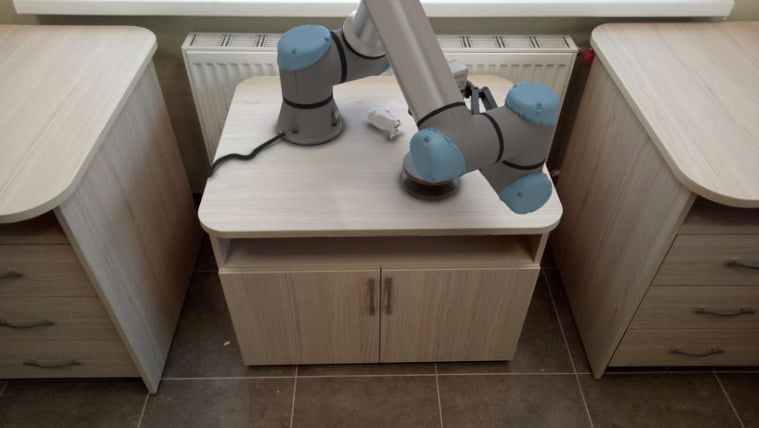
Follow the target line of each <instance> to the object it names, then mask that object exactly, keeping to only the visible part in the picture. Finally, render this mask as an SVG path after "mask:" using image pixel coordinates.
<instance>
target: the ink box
mask: <svg viewBox="0 0 759 428" xmlns="http://www.w3.org/2000/svg"><path fill="white" fill-rule="evenodd" d="M446 61H447V63H448V65H449V67H450V70H451V72H452V74H453V76H454V79H455V81H456V83H457V85H458V88H459V90H460V92H461V94H462V96H463V99H464V100H465V97H464V96H465V90H466V83H467V80H468V76H469V69H470V68H469V67H468V65H466V64H464V63H463V62H462V61H460V60H458V59H457V58H456V57H454V56H453V57H451V56H450V57H449V58H448V57H447V58H446Z"/></svg>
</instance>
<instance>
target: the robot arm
mask: <svg viewBox="0 0 759 428" xmlns="http://www.w3.org/2000/svg"><path fill="white" fill-rule="evenodd" d="M276 53H277V54H276V55H277V56H276V63H277V66H278V73H279V81H280V90H281V97H282V100H281V101H282V102H281V105H280V108H279V114H278V117H277V129H278V133H279V134H277V135H275V136H273V137H272V138H270V139H268V140H266V141H265V142H263V143H261V144H260V145H258V146H257V147H255V148H254V149H253V150H252V151H251V152H250V153H249V154H241V153H234V152H233V153H229V154H225V155H223V156H220V157H218V158H217V159H216V160H214V162H213V163H212V164H211V165H210V167H209V169H208V170H207V172H206V174H205V179H208V178H209V179H210V178H211V176H212V174H213V173H214V171H215V169H216V168H217V167H218V166H219V165H220V164H221V163H222V162H224V161H226V160H229V159H234V158H236V159H240V160H250V159H252V158H254V157H255V156H256V154H257V153H258V152H260V151H261V150H263V149H264V148H266V147H268V146H270V145H272V144H273V143H275V142H277V141H279V140H281V139H282V138H283V139H284V140H286V141H288V142H290V143H292V144H296V145H300V146H315V145H321V144H325V143H327V142H330V141H333V140H334V139H335V138H336V137H338V135H339V134H340V133H341V131H342V129H343V117H342V114H341V111H340V109H339V106H338V105H337V102H336V100H335V98H334V86H338V85H343V84H345V83H349V82H353V81H357V80H361V79H365V78H370V77H377V76H381V75H383V74H384V73H387V72H390V71H392V73H393V75H394V77H395V79H396V82H397V85H398V86H399V89H400V91H401V93H402V95H403V99H404V101H405V102H406V105H407V107H408V108H407V114H408V115H409V116H410V117H412V118H413V121H414V123H415V125H416V128H417V130H418V131H417V132H415V133H414V134H413V135H412V137H411V138H410V142H409V151H410V153H411V155H412V163H413V165H414V168H415V169H416V171H417V173H418V174H419V175H420V176H421V177H422V178H423V179H424V180H425V181H427V182H430V183H437V182H441V181H445V180H448V179H452V178H457V177H458V178H461V177H463V176H464V175H467V174H470V173H472V172H475V171H479V173H480V175H482V177H484V179H485V180H486V181H487V183H488V184H489V185H490V187H491V188H492V190H493V191H494V192H495V193H496V195H497V197H498V199H499V200H500V201H502V202H503V204H505V205H506V207H507V208H508V209H509V210H510V211H511V212H513V213H514V214H517V215H527V214H530V213H534V212H536V211H538V210H540V209H541V208H542V207H543V206H544V205H546V204H547V203H548V201H549V200H550V199H551V196H552V194H553V188H554V187H553V184H552V181H551V180H550V179H549V176H548V174H547V173H546V172H544V167H545V164H546V163H545V162H546V159H547V158H546V157H547V153H548V150H549V147H550V143H551V140H552V137H553V135H554V131H555V127H556V125H557V123H558V120H557V119H558V115H559V112H560V107H561V99H560V96H559V94H558V92H556V91H555V89H552V88H551V87H550V86H548V85H546V84H543V83H541V82H540V83H539V82H536V81H521V82H518V83H516V84H514V85H512V87H511V88H509V90H508V91H507V94H506V96H505V98H504V105H501V106H498V104H497V102H496V99H495V98H494V95H493V93H492V92H491V90H490V88H489V87H488V86H487V85H486V86H485V85H483V86H482V87H481V88H480V87H479V86H476V85H474V84H473V82H471V81H470V80H468V79H467V83H466V90H465V96H464V99H463V96H462V94H461V92H460V90H459V88H458V85H457V83H456V81H455V79H454V76H453V74H452V72H451V70H450V67H449V65H448V63H447V61H446V59H447V57H446V56H445V54H444V51H443V50H442V48H441V44H440V43H439V41H438V38H437V36H436V34H435V32H434V29H433V27H432V25H431V22H430V20H429V18H428V16H427V13H426V11H425V9H424V7H423V5H422V3H421V0H359V2H358V5H357V7H356V10H353V11H352V12H351V13H348V15H347V16H346V18H345V20H344V22H343V24H342V27H341V28H338V29H332V30H329V29H328V28H327V27H325V26H322V25H319V24H313V25H312V24H301V25H299V26H295V27H292V28H291V29H289V30H287V31H286V32H284V33H283V34H282V35H281V36H280V38H279V39H278V41H277V45H276ZM465 99H466V100H468V99H470V100H469V102H470V108H469V107H468V106H467V103H466V101H465ZM480 101H481V103H482V105H483V107H484V110H485V111H482V112H481V111H480Z"/></svg>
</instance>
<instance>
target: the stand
mask: <svg viewBox="0 0 759 428" xmlns="http://www.w3.org/2000/svg"><path fill="white" fill-rule="evenodd" d="M402 171H403V172H402V173H401V185H402V187H403V189H404V191H405V192H406V193H407V194H409V195H410V196H412V197H413V198H415V199H419V200H422V201H426V202H427V201H428V202H435V201H436V202H437V201H441V200H445V199H448V198H449V197H451V196H452V195H454V194H455V192H456V191H457V190H458V186H459V185H458V184H459V177H457V178H452V179H448V180H445V181H441V182H437V183H430V182H427V181H425V180H424V179H423V178H422V177H421V176H420V175H419V174H418V173H417V171H416V169H415V168H414V165H413V163H412V155H411V153H410V150H409V151H408V152H407V153H406V154H405V155H404V157H403V159H402Z"/></svg>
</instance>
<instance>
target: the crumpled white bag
mask: <svg viewBox="0 0 759 428" xmlns="http://www.w3.org/2000/svg"><path fill="white" fill-rule="evenodd" d="M365 122H367V123H369V124H371V125H373V126H374V127H376V128H377V129H379V130H380V131H389V132H390V134H389V137H390V138H389V139H390V140H393V138H394V139H395V138H396V135H397V136H399V135H400V134H399V133H400V129H399V127H401V125H402V122H401V119H400V118H397V117H396V116H395V115H393V113H392V112H391V111H390V109H389V108H388V107H385V106H383V107H382V108H378V107H371V108H369V109H368V111H367V114H366V120H365Z"/></svg>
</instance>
